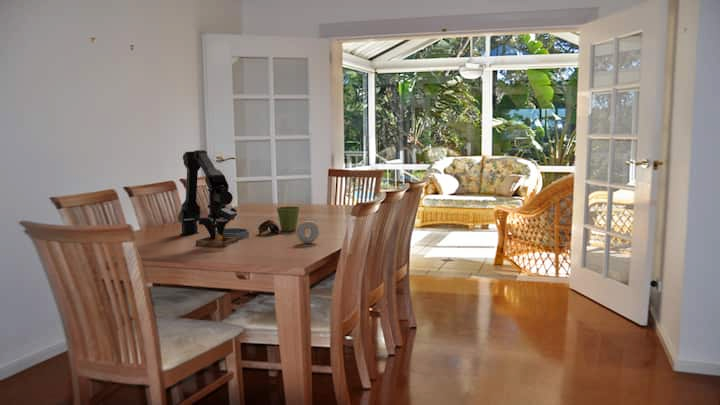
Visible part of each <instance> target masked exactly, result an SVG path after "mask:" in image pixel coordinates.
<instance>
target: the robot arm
mask: <svg viewBox="0 0 720 405" xmlns="http://www.w3.org/2000/svg"><path fill="white" fill-rule="evenodd" d="M182 160H183V165H184V167H185V169H186V183H185V187H186V189H185V200H184V201H183V203H182V204H181V209H180V211H179V214H178V216H177V220H178V222H179V223H181V233H179V235H180V236H182V235H183V236H193V235H197V234H199V233H200V232H198V225H200V226H201V225H202V226H204V227H205V229H206V230H207V232H208V234H209V236H211V238H212V239H213V240H215V235H216V230H217V231H218V234H220V235H221V236H222V235H223V232H224V229H226V225H228V223H230V221H235V217H237V216H238V214H237V213H238V212H237V208H235V207H231V208H227V206H228V205H230V204H231V203H232V201H233V197H234V196H233V195H232V193H231V192H230V191H229V189H230V188H229V183H228V181H227V178H226V176H225V175H224V173H223V172H222V171H221V170H219V169H217V168H216V167H215V165H214V164H213V161H212V160H211V159H210V158H209V156H208V152H207V151H206V150H205V149H200V150H199V149H197V150H194V151H185V152H184V153H183V155H182ZM200 169H202V171H203V173H204V175H205V178H204V181H205V184H206V186H207V187H208V188H207V192H208V197H209V198H208V199H209V201H208V203H209V204H207V207H206V208H208V209H209V214H207V216H201V206H200V205H199V204H198V202H197V193H198V177H199V176H198V175H199V173H198V172H199V170H200ZM197 222H198V223H197Z"/></svg>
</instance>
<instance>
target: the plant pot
mask: <svg viewBox="0 0 720 405" xmlns="http://www.w3.org/2000/svg"><path fill="white" fill-rule="evenodd" d="M275 209H276V211H277V214H278V220H279V224H280V230H281V231H283V232H292V231H293V232H295V231H297V227H298V226H297V224H298V216H299V213H300V212H299V211H300V209H301V207H300V206H290V205H289V206H279V207H278V206H277V207H276V208H275Z"/></svg>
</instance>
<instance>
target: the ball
mask: <svg viewBox="0 0 720 405" xmlns="http://www.w3.org/2000/svg"><path fill="white" fill-rule="evenodd" d="M213 241H217V242H221V241H222V236H221V235H220V234H216V235H215V240H213Z"/></svg>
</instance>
